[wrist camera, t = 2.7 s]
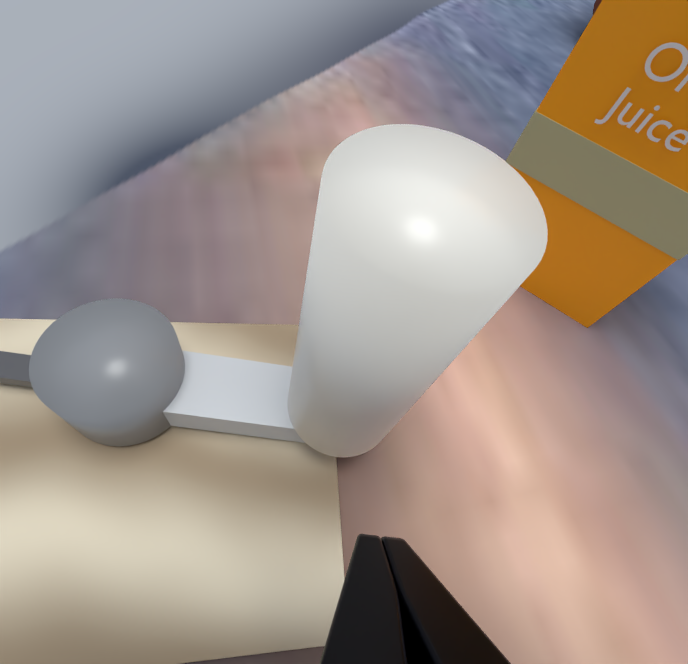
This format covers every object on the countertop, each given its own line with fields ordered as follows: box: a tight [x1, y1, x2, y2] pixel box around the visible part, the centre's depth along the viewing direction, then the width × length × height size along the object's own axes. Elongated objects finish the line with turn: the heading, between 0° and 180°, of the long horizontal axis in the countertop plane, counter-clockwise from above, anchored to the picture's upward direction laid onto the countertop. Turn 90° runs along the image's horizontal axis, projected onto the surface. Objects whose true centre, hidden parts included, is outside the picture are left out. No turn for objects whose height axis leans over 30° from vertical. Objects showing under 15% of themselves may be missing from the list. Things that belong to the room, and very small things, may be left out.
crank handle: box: [0, 124, 548, 457], centre depth 11 cm, size 19×4×12 cm, turn 85°
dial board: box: [0, 319, 344, 664], centre depth 15 cm, size 12×19×1 cm, turn 94°
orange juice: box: [506, 0, 688, 328], centre depth 18 cm, size 8×9×20 cm
